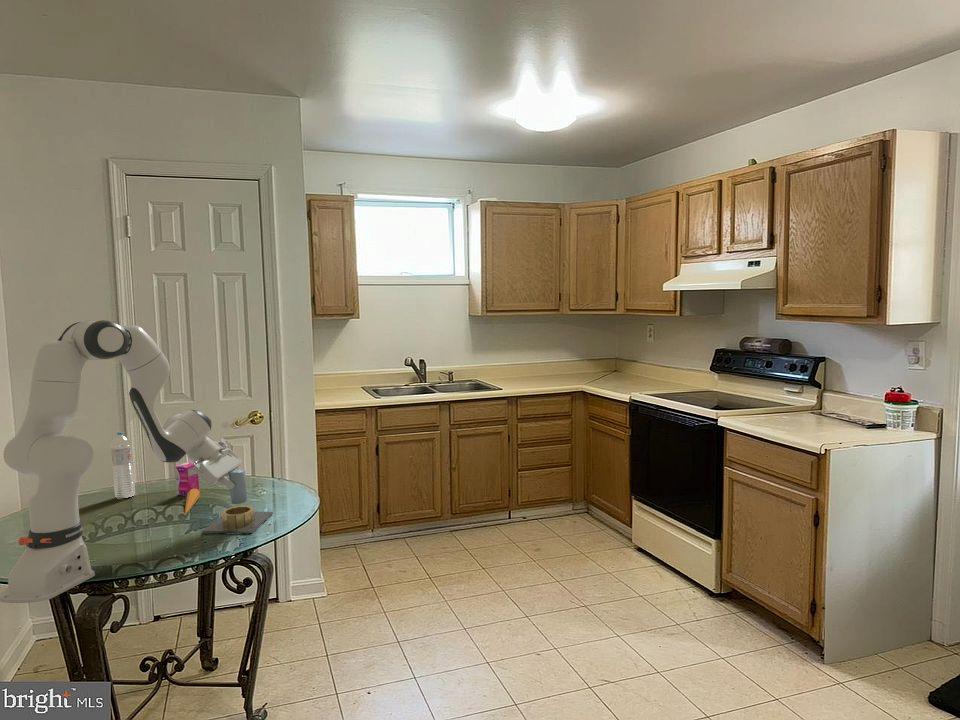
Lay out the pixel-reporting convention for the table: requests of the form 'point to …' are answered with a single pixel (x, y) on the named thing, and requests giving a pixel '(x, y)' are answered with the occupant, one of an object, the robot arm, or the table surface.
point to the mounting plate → (248, 528)
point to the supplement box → (186, 478)
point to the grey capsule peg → (238, 487)
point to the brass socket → (238, 516)
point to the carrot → (191, 499)
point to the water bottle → (122, 467)
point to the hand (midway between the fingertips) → (238, 483)
